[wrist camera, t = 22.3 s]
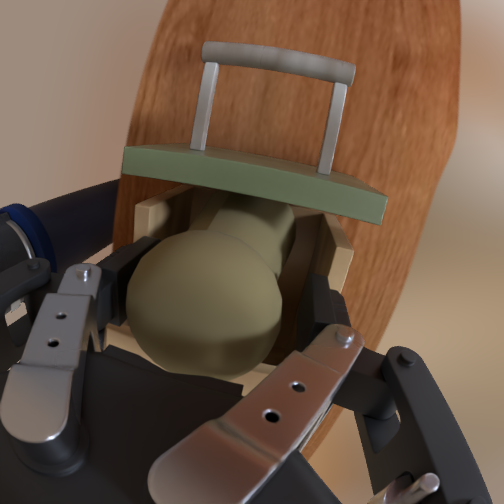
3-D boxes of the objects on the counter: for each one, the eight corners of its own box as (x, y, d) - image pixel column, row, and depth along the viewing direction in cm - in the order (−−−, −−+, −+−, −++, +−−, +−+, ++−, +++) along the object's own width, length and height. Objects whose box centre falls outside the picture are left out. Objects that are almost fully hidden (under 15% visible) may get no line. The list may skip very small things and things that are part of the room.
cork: (286, 283, 19) (271, 423, 9) (195, 265, 20) (109, 378, 9) (305, 190, 17) (319, 264, 7) (204, 173, 17) (89, 220, 7)
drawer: (198, 61, 16) (147, 24, 9) (370, 91, 15) (413, 64, 8) (167, 318, 23) (127, 378, 16) (301, 350, 22) (300, 423, 15)
